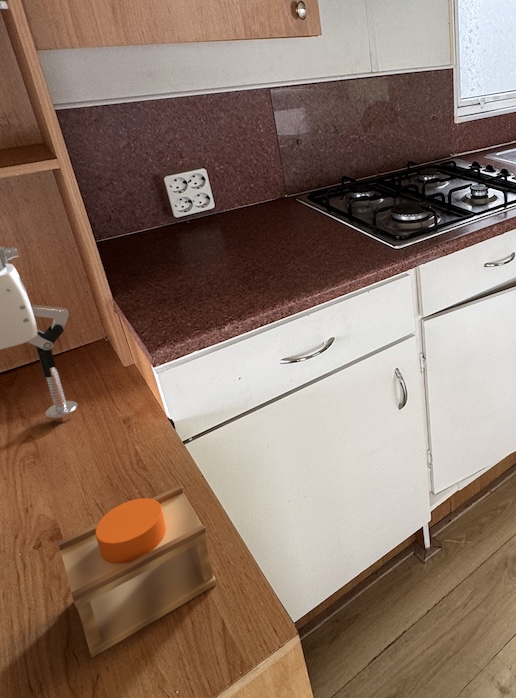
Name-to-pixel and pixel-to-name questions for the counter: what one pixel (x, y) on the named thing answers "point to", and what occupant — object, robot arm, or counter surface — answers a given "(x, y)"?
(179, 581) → the gold metallic block
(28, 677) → the counter surface
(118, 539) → the puck
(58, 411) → the screw
